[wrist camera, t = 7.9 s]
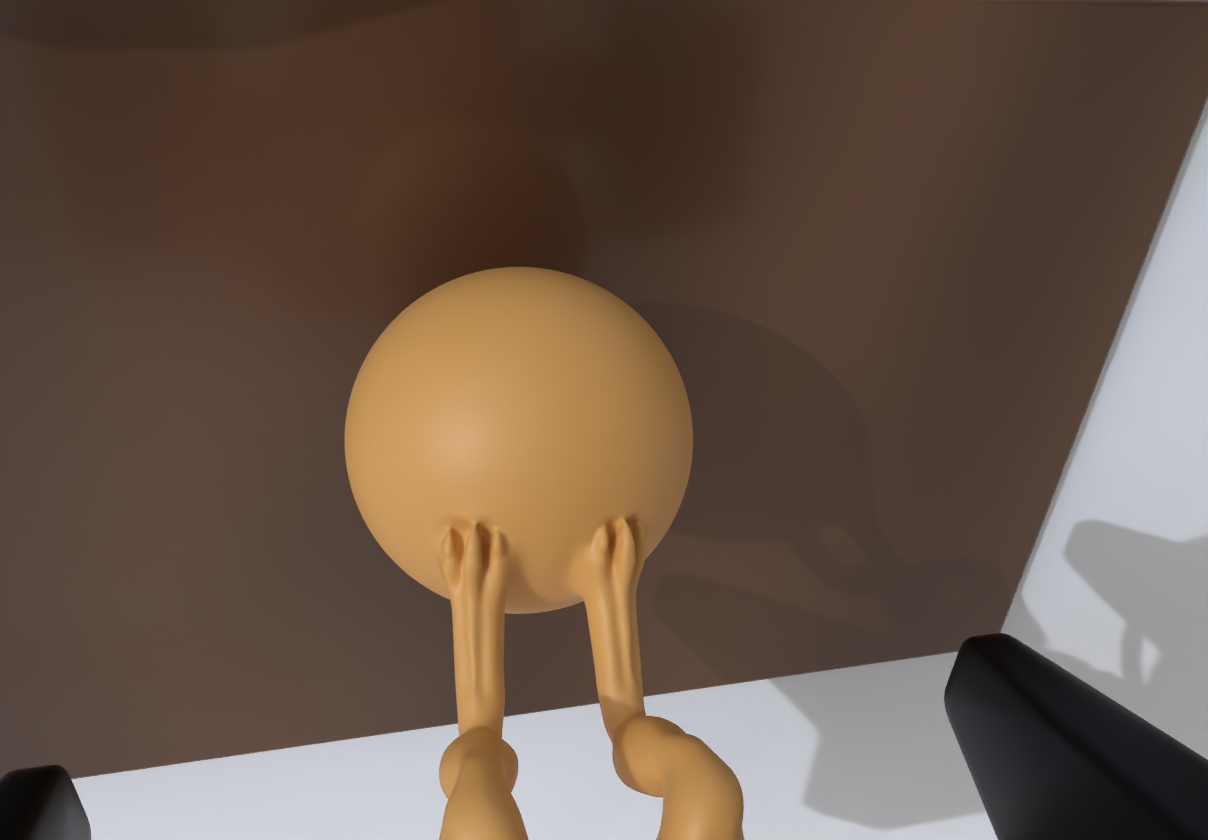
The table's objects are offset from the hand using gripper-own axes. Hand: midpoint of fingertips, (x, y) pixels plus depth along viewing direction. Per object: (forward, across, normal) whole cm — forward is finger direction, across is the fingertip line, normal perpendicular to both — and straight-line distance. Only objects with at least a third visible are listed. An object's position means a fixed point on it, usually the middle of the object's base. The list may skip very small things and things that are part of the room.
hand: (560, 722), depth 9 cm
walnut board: (+7, -1, +1) cm, 7 cm away
